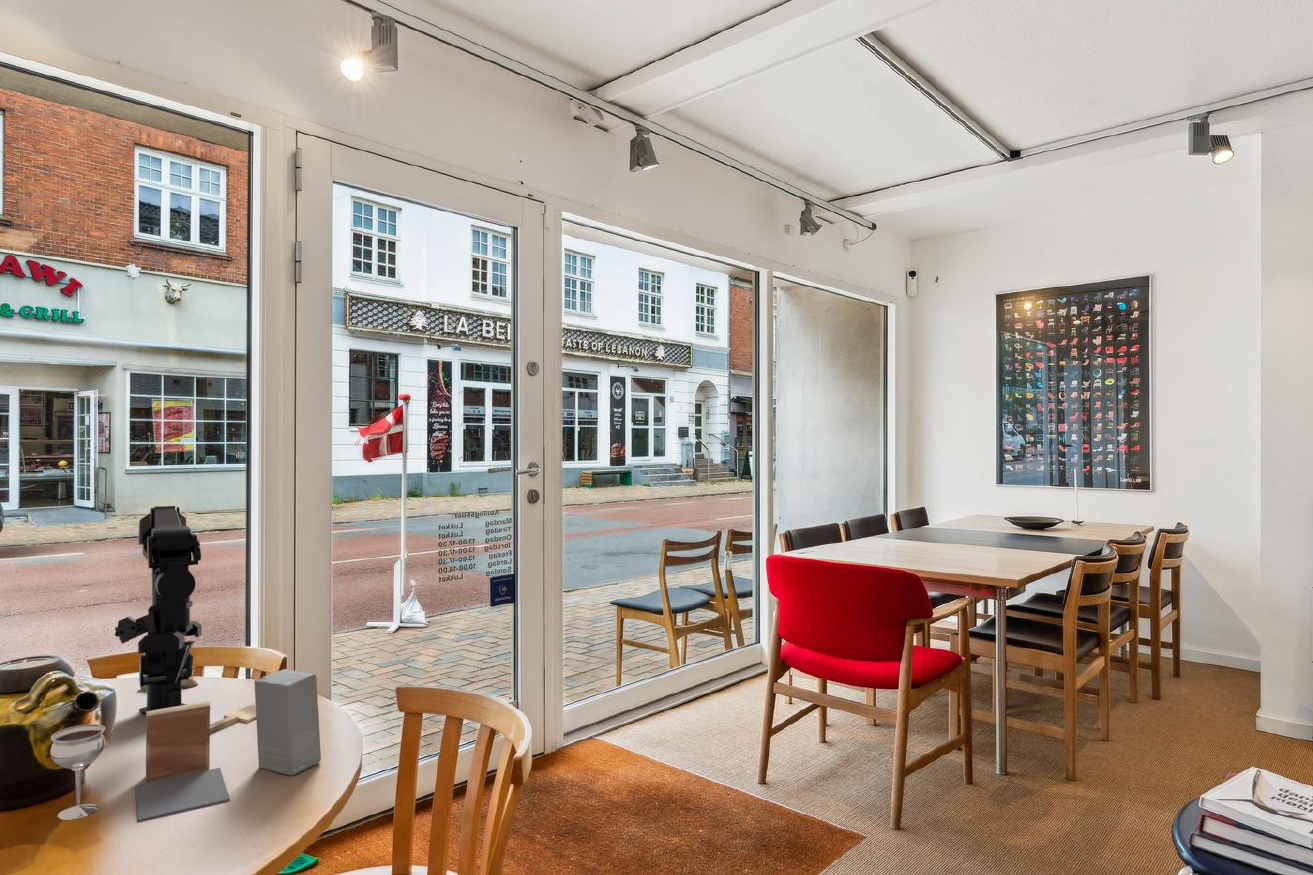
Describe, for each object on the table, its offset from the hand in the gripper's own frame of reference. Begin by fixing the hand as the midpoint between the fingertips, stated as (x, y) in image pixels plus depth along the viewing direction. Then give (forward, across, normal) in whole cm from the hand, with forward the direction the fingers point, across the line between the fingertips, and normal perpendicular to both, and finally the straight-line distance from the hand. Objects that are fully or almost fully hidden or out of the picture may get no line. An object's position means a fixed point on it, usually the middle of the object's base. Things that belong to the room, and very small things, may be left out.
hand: (171, 684), depth 143 cm
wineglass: (+14, +23, -7) cm, 27 cm away
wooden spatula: (+10, -10, +9) cm, 17 cm away
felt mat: (+14, +21, +6) cm, 25 cm away
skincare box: (+14, +14, +21) cm, 29 cm away
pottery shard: (+7, -37, -8) cm, 39 cm away
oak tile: (+13, +12, +4) cm, 18 cm away
